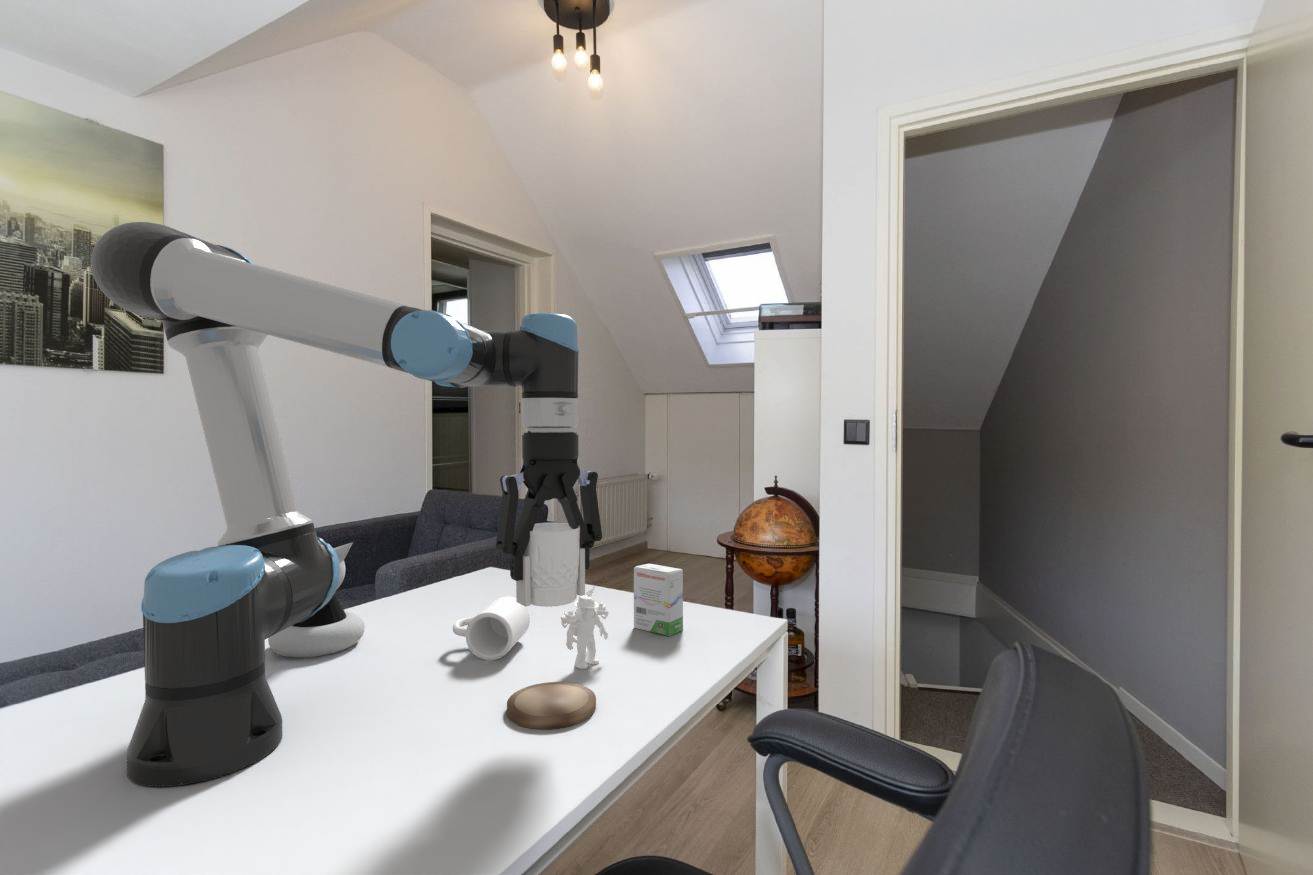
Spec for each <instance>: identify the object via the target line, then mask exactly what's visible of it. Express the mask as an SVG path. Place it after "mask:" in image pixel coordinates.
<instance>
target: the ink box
mask: <svg viewBox="0 0 1313 875" xmlns="http://www.w3.org/2000/svg"><path fill="white" fill-rule="evenodd" d="M683 571H684V569H682V568H676V567H670V566H665V565H659V564H656V563H655V564H653V563H646V564H640V565H636V566H635V567H633V628H634V629H637V630H642V631H647V632H650V633H653V634H654V633H655V634H658V635H662V636H666V637H671V636H673V635H676V634H678V633H679V632H681V631H683V630H684V575H683V574H684V572H683Z"/></svg>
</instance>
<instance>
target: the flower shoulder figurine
mask: <svg viewBox="0 0 1313 875" xmlns="http://www.w3.org/2000/svg"><path fill="white" fill-rule="evenodd" d="M594 591H595V586H592V588H591V589H590V590H588V591H586V592H585V595H584V596H579V597H578V599H577V600H576V599H575V601H574V603H573V604H574V606H575V607H576V610H575V611H574V610H570V608H569V609H568V611H564V613H563V614H564V615H561V617H560V620H561V621H560V622H561V625H562V627H563V628H564V629H565V628H567V627H568V628H567V631H566V643H565V645H566V647H567V649H568V650H570V651H572V650H573V649H574V646H573V644H574V643H575V644H576V651H577V654H576V657H575V660H574V667H575V668H576V669H579V670H586V669H588V668H589V665H599V663H600V661H599V659H597V657H596V653H597V652H596V651H597V648H596V640H595V634H594V629H595V627H597V628H598V631H599V635H600V637H601V638H602V637H603V639H604V640H605V641H606V640H608V638H609V637H608V636H609V633H608V631H607V629H606V627H605V625H604V623H603V622H602V620H606V618H608V615H609V610H607V606H606V603H605V602H601V601H600V602H596V601H595V600H594V599H593V598H592V594H594ZM603 615H604V616H603ZM599 616H600V617H601V618H602V620H601V619H600V617H599ZM568 625H569V626H568ZM575 637H576V638H575Z"/></svg>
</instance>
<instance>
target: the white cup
mask: <svg viewBox="0 0 1313 875" xmlns="http://www.w3.org/2000/svg"><path fill="white" fill-rule="evenodd" d="M579 545H580V526H578V528H576V529H572V528H571V527H570V526H569V524H568V522H557V521H556V522H541V523H540V522H539V523H535V525H534V528H533V531H530V539H529V542H528V545H527V548H526V550H525V553H524V554H525V555H528V556H530V589H531V605H532V606H537V607H547V608H548V607H551V608H552V607H560V606H565V605H568V604H571V603H575V601H576V599H577V597H578V595H577V582H576V581H577V579H578V566H579Z"/></svg>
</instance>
